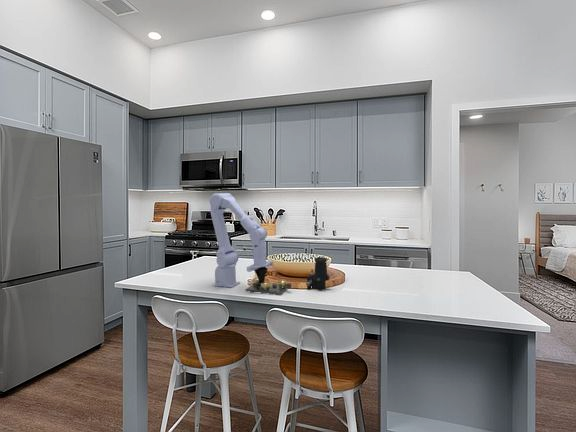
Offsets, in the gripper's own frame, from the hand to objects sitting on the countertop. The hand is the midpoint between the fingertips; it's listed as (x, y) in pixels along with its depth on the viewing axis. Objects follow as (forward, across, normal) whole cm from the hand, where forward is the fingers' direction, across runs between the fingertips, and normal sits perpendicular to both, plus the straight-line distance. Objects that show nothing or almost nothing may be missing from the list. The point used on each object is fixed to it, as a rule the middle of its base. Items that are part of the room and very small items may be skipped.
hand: (261, 283), depth 149 cm
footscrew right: (+1, 0, -5) cm, 5 cm away
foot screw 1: (+1, 0, +3) cm, 3 cm away
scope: (+4, +18, -19) cm, 26 cm away
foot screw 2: (+2, +6, -9) cm, 11 cm away
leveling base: (+3, +2, -2) cm, 4 cm away
